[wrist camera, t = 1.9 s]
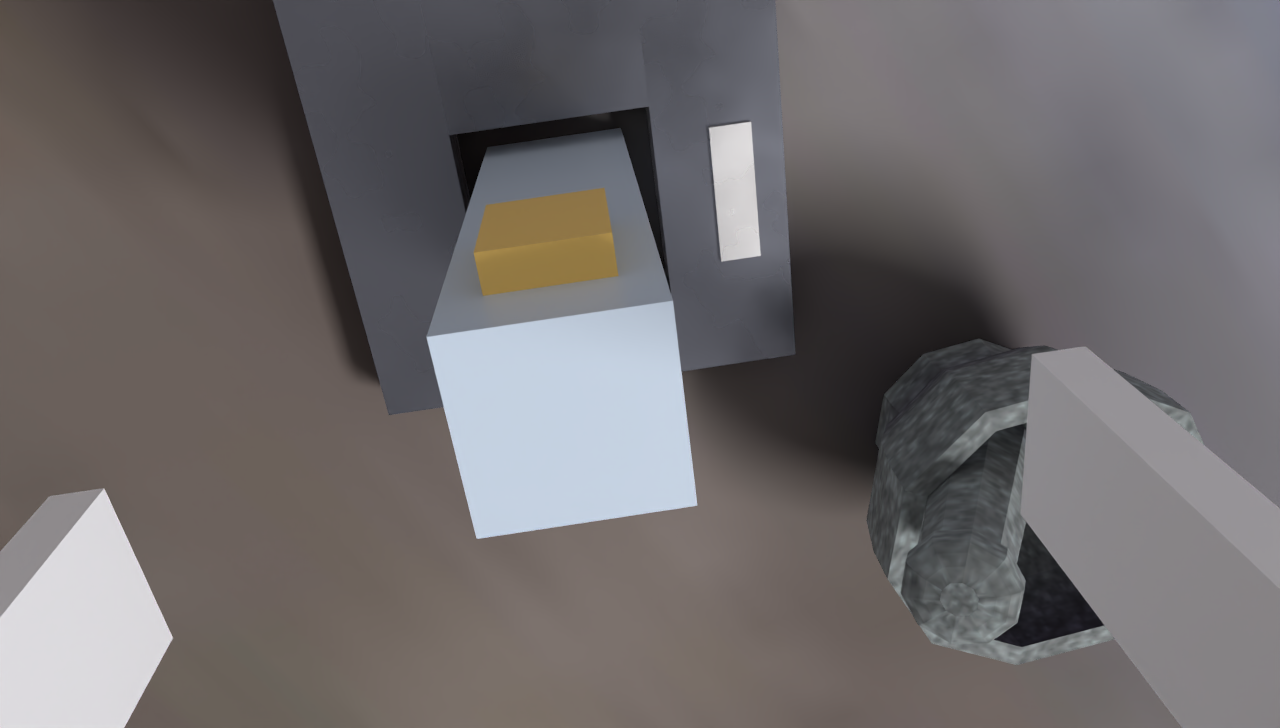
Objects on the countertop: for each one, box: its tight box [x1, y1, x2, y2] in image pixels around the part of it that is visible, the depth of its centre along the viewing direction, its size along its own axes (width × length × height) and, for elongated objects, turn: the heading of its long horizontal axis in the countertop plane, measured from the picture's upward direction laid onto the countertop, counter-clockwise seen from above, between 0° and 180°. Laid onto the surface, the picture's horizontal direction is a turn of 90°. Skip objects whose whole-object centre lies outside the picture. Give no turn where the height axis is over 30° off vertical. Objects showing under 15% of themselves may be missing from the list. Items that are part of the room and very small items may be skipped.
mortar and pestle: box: [867, 339, 1204, 665], centre depth 27 cm, size 11×9×12 cm
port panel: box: [273, 0, 796, 415], centre depth 25 cm, size 22×13×2 cm, turn 7°
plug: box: [427, 128, 697, 539], centre depth 22 cm, size 4×5×14 cm
